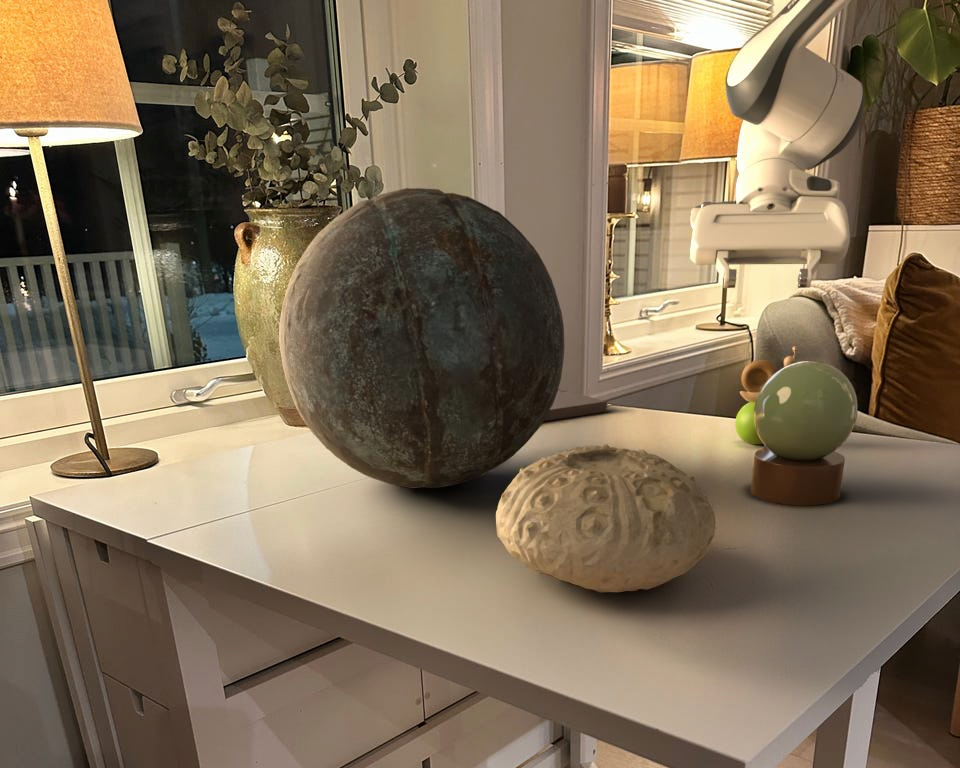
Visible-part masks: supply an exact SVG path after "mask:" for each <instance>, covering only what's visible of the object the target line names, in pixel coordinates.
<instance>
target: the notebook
mask: <svg viewBox="0 0 960 768" xmlns="http://www.w3.org/2000/svg"><path fill="white" fill-rule="evenodd" d="M607 411H608V401H607V400H604V399H599V398H595V397H591V396H588V395H583V394H579V393H575V392H571V391H568V390H564V389H559V388H558V391H557V394H556V397H555V400H554V402H553V404H552V407H551V409H550V410H549V412H548V414H547V416H546V418H545V419H544V421H543V422H547V421H548V422H549V421H555V420H562V419H567V418H575V417H581V416H586V415H593V414H600V413H605V412H607Z"/></svg>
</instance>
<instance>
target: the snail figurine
mask: <svg viewBox="0 0 960 768" xmlns="http://www.w3.org/2000/svg"><path fill="white" fill-rule="evenodd" d="M797 350H798V347H797V346H796V345H793V346H792V351H793V355H788V356H786V357H785V358H784V359H783V368H784V367H786V366H789V365H791V364H794V363H797V359H796V357H795V356H796V352H797ZM742 370H743V371H742V373H741V377H740V380H741V385H742V386H743V388H744V390H741V391H739V394H740V396H741V397H742V398H743V399H744V400H745V401H747V403H746V404H745V405H743V406H742V407H741V408H740V410H739V411H738V412H737V414H736V417H735V422H734V425H735V430H736V433H737V435H738V436H739V438H740V439H741V440H742V441H744V442H745V443H748V444H750V445H762V444H763V443H762V441H761V440H760V438H759V436H758V434H757V431H756V428H755V424H754V408H755V403H756V400H757V397H758V395H759V393H760V390H761V389H762V387H763V386H764V384H765V383H766V382H767V381H768V379H769V378H771V377H772V376H773V375H774V374H775V373H776V372H778V371H779V369H778V367H777V366H776V364H775V363H773V362H772V361H770V360H768V359H762V358H761V359H756V360H753V361H751V362H749V363H748V364H746V366H745V367H744V369H742ZM763 445H764V444H763Z"/></svg>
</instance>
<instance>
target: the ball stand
mask: <svg viewBox="0 0 960 768" xmlns="http://www.w3.org/2000/svg"><path fill="white" fill-rule="evenodd" d="M858 404H859V403H858V398H857V393H856V390H855V388H854V385H853V384H852V382H851V381H850V380H849V378H848V377H847V375H845V374H844V373H843V371H841V370H839V369H838V368H837V367H835V366H833V365H831V364H828V363H825V362H823V361H822V362H821V361H814V360H806V361H797V362H795V363H794V364H791V365H789V366H786V367H784V366H783V368H781V369H778V372H776V373H775V374H774V375H773V376H772V377H771V378H769V379H768V381H767V382H766V383H765V384H764V386H763V387H762V389H761V390H760V393H759V395H758V397H757V400H756V403H755V408H754V424H755V428H756V431H757V434H758V436H759V438H760V440H761V441H762V443H763V446H764V447H763V448H760V449H758V450H756V451H754V454H753V463H752V472H751V473H752V474H751V482H750V493H751V495H753V497H756V498H757V499H760V500H764V501H766V502H769V503H770V502H771V503H774V504H780V505H788V506H820V505H826V504H831V503H833V502H835V501H837V500H839V498H840V495H841V490H842V489H841V488H842V482H843V475H844V470H845V464H846V463H845V462H846V457H845V456H844V455H843V454H841V453H839V452H837V450H838V449H840V447H841V446H843V444H845V442H846V441H847V440H848V439H849V437H850V435H851V433H852V432H853V430H854V428H855V425H856V422H857V419H858V409H859V406H858Z"/></svg>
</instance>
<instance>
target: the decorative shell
mask: <svg viewBox="0 0 960 768" xmlns="http://www.w3.org/2000/svg"><path fill="white" fill-rule="evenodd" d="M695 479H696V477H695V475H694V474H692V473H690V474H689V475H688V474H687V473H686V472H684V471H683V470H681V469H680V468H679V467H677V466H675V465H674V464H673V463H672V462H670V461H668V460H666V459H665V458H663V457H661V456H659V455H657V454H653V453H648V452H647V451H646V450H645V449H642V450H640V451H637V450H631V449H628V448H617V447H615V446H610V445H608V444H607V443H606V444H604V445H602V446H601V445H586V446H582V447H580V446H574V448H573V449H570V450H569V449H566V450H563V451H562V452H557V453H555V454H552V455H550V456H541V458H540V459H539V460H537V461H535V462H533V463H531V464H529V465H527V466H526V467H521V468H520V469H519V473H517V474H516V476H515V477H514V478H512V481H511V482H510V484H509V485H508V486H507V487H506V489H505V490H504V492H502V494H501V497H500V499H499V501H498V505H497V510H496V511H495V522H496V523H495V525H496V536H497V537H498V539H500V541H501V542H502V543H503V545H504V547H505V548H506V551H508V553H509V554H510V555H511V556H512V557H513V558H515V559H516V560H518V562H520V563H521V564H523V565H524V566H526V567H527V568H530V569H531V570H532V571H534V572H537V573H539V574H542V575H543V574H544V575H549V576H551V577H553V578H555V579H557V580H559V581H564V582H567V583H571V584H572V585H575V586H579V587H580V588H583V589H585V590H593V591H596V592H597V593H622V592H623V593H624V592H627V591H628V592H637V591H638V590H640V589H641V590H645V591H647V590H650V589H653V588H656V587H658V586H660V585H662V584H665V583H667V582H669V581H671V580H672V579H675V578H677V577H681V576H682V575H684V574H686V573H687V572H688V571H689V570H690V569H692V568H693V567H694V566H695V565H696V564H697V563H698V562H699V561H700V560H701V559H702V558H703V557H704V556H705V555H706V554H707V553H708V551H709V548H710V546H711V545H712V542H713V540H714V538H715V534H716V515H715V511H714V509H713V506H712V503H711V501H710V499H709V495H706V494H705V493H704V490H703V489H702V488H701V487H700V486H699V485H698V484H697V483H696V480H695Z"/></svg>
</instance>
